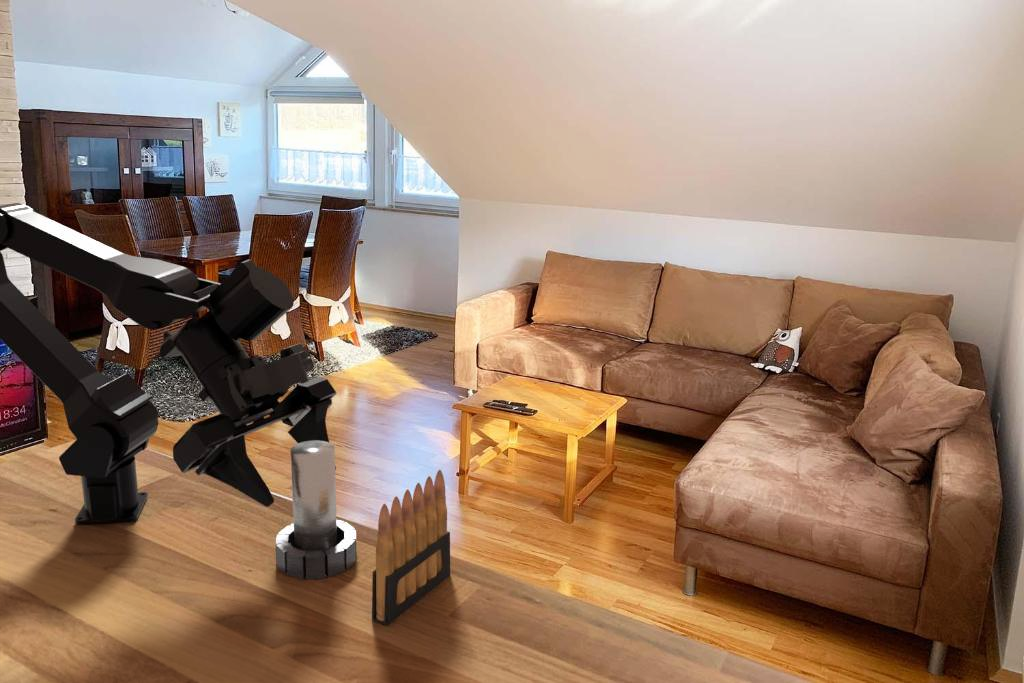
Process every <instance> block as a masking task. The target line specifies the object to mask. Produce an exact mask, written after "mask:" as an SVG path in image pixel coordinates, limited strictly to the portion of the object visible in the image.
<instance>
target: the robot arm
mask: <svg viewBox="0 0 1024 683" xmlns="http://www.w3.org/2000/svg"><path fill="white" fill-rule="evenodd" d="M6 249H7V250H8V249H9V250H12V251H14V252H16V253H18V254H20V255H23V256H25V257H27V258H29V259H31V260H33V261H35V262H37V263H38V264H39V263H40V264H41V265H44V266H46V267H48V268H50V269H53V270H54V271H56V272H59V273H61V274H63V275H64V276H67V277H69V278H72V279H74V280H76V281H78V282H80V283H81V284H84V285H86V286H88V287H91V288H93V289H95V290H97V291H98V292H100V293H101V294H103V295H104V296H106V298H107V299H108V301H109V302H110V303H111V305H112V306H113V308H114V309H115V310H116V311H118V312H119V313H120V314H122V315H123V316H125V317H126V318H128V319H129V320H131V321H133V322H134V323H135V324H137V325H139V326H141V327H142V328H144V329H146V330H147V329H148V330H153V331H154V330H160V329H162V328H165V327H168V326H170V325H172V324H174V323H176V322H178V321H181V320H184V319H185V320H186V319H188V318H189V319H188V320H187V321H186V322H184V324H183V325H182V326H181V327H179V328H178V329H177V330H176V331H175V330H172V331H165V332H163V335H162V336H163V337H162V338H163V339H162V343H161V344H160V347H159V352H158V355H159V357H160V358H162V359H163V358H171V357H180V356H182V358H183V360H184V361H185V363H186V364H187V366H188V367H189V369H190V371H191V372H192V374H193V375H194V377H195V378H196V380H197V381H198V383H199V384H200V386H201V387H202V389H201V390H200V392H198V395H197V396H198V397H199V398H200V400H201V402H202V403H205V402H207V401H211V403H212V404H213V405H214V407H215V408H216V410H217V411H218V413H219V414H216V415H213V416H211V417H208V418H206V419H203V420H200V421H197V422H195V423H193V424H192V425H190V427H189V428H188V429H187V430H186V431H185V432H184V434H182V436H181V437H180V438H179V439H178V440H177V442H176V443H175V444H174V445H173V447H172V458H173V461H174V462H175V464H176V465H177V467H178V469H179V470H180V472H181V473H183V474H185V473H187V472H190V471H192V470H194V469H196V470H194V473H195V474H196V475H197V476H201V475H206V476H209V477H210V478H213V479H215V480H217V481H218V482H221V483H224V484H226V485H228V486H230V487H232V488H233V489H235V490H238V491H239V492H240V493H242V494H244V495H245V496H247V497H249V498H250V499H252V500H254V501H256V502H257V503H258V504H261V505H263V506H264V507H265V508H268V507H270V506H272V505H273V504H274V503H275V498H274V496H273V495H272V492H271V491H270V489H269V487H268V486H267V484H266V482H265V481H264V479H263V478H262V475H261V474H260V473H259V471H258V470H257V468H256V467H255V465H254V463H253V462H252V461H251V459H250V457H249V456H248V453H247V448H246V446H247V445H246V436H247V435H249V434H252V433H253V432H256V431H259V430H262V429H264V428H266V427H269V426H270V425H273V424H276V423H277V422H280V421H281V422H282V424H284V425H287V426H290V427H291V428H290V429H288V431H287V433H288V434H289V436H291V437H292V439H293V440H294V441H295V442H296V444H298V443H301V442H305V441H326V442H329V443H331V442H330V439H329V436H328V430H327V424H326V423H327V422H326V418H327V413H328V409H329V408H330V407H331V406H332V405H333V398H334V397H335V396H336V395H337V391H336V390H335V388H334V386H333V385H332V384H331V382H330V381H329V379H327V378H324V377H321V376H320V377H319V376H317V377H315V378H312V379H310V378H309V377H308V372H311V371H313V370H314V367H315V365H314V362H313V359H312V356H311V354H310V352H309V351H308V350H307V349H306V348H305V347H304V346H303V344H302V343H301V342H299V343H297V344H294V345H290V346H288V347H284V348H282V349H281V350H280V352H279V353H280V358H278V359H276V360H273V361H270V362H268V363H267V362H266V361H265V360H264V358H263V357H262V356H259V354H257V355H253V356H249V354H248V352H247V351H246V349H245V348H244V347H243V345H242V344H241V342H240V341H239V340H244V341H247V342H248V341H250V342H253V341H255V340H257V339H258V338H260V336H262V335H263V334H264V333H265V332H267V330H268V329H270V328H271V327H272V326H273V325H274V324H276V322H277V321H279V320H280V319H281V318H282V317H283V316H284V315H285V314H286V313H288V312H289V311H290V310H291V309H292V308H293V306H294V303H295V302H294V301H295V300H294V296H293V295H292V292H291V290H290V289H289V287H288V286H287V285H286V283H285V282H284V281H283V279H282V278H280V277H277V276H275V274H273V273H272V272H270V271H269V270H266V269H265V268H262V267H260V266H257V265H256V264H255V262H253V260H252V259H246V260H244V261H243V260H242V261H241V262H239V264H237V266H235V267H234V268H233V270H232V271H231V273H230V274H229V275H228V276H227V277H226V278H225V279H224V280H223V281H222V282H221V283H220V282H216V281H213V280H210V279H209V280H208V279H204V278H201V277H198V276H197V274H195V272H193V271H192V270H191V269H189V268H187V267H185V266H182V265H180V264H175V263H171V262H168V261H164V260H161V259H156V258H147V257H141V256H134V255H130V254H127V253H124V252H121V251H119V250H117V249H115V248H113V247H111V246H108V245H106V244H104V243H103V242H100V241H97V240H95V239H93V238H91V237H89V236H87V235H85V234H82V233H80V232H78V231H76V230H75V229H72V228H70V227H68V226H65V225H63V224H61V223H59V222H57V221H55V220H54V219H53V220H52V219H50V218H49V217H46V216H45V215H43V214H39V213H38V212H36V211H35V210H34V209H33V208H31V207H30V206H29V205H26V204H23V203H20V202H15V203H14V202H13V203H7V204H1V205H0V340H1V341H2V343H3V344H4V345H5V346H6V347H7V348H8V349H10V351H11V352H12V353H13V354H14V355H15V356H16V357H17V358H18V359H19V360H20V361H21V362H22V363H23V364H24V365H25V366H26V367H27V368H28V369H29V370H30V371H31V372H32V373H33V374H34V375H35V376H36V377H37V378H38V379H39V380H40V381H41V382H42V383H43V384H44V385H45V386H46V387H47V389H49V390H50V391H51V392H52V393H53V394H54V395H55V396H56V397H57V399H59V401H60V402H61V403H62V406H63V410H64V414H65V418H66V423H67V426H68V429H69V430H70V432H71V433H72V435H73V436H74V437H75V441H73V442H72V443H71V444H70V446H69V447H67V449H66V450H64V452H63V453H62V454H60V456H58V460H59V462H60V464H61V466H62V468H63V471H64V473H65V475H67V476H77V477H81V486H82V488H81V489H82V495H83V496H82V497H83V505H82V507H81V509H80V511H79V512H78V513H77V515H76V516H75V518H74V522H75V524H77V525H84V524H105V523H120V522H121V523H122V522H123V523H125V522H134V521H136V520H138V518H139V516H140V514H141V512H142V510H143V507H144V506H145V504H146V501H147V499H148V496H149V495H148V492H146V491H145V492H143V491H139V488H138V476H137V468H136V467H137V466H136V455H137V454H139V453H140V452H142V451H144V450H146V449H147V448H148V445H149V444H148V443H149V440H150V439H151V438H152V437H154V435H155V434H156V433H157V431H158V428H159V416H160V415H159V411H158V409H157V407H156V406H155V404H154V403H153V402H152V401H151V400H153V399H154V396H153V395H151V394H149V393H148V392H146V391H145V390H143V388H141V386H140V385H139V384H138V382H137V381H136V380H135V378H134V377H133V376H131V375H130V374H129V373H123V374H121V375H120V376H118V377H116V378H113V377H111V376H109V375H106V374H103V373H102V372H100V371H99V370H98V369H97V368H96V367H95V366H94V365H93V364H92V363H91V362H90V361H89V360H88V359H87V358H86V357H85V356H84V355H83V354H82V353H81V352H80V351H79V350H78V348H76V346H74V345H73V344H72V343H71V342H70V340H68V339H67V337H65V335H63V333H61V332H60V330H59V329H58V328H57V327H56V326H55V325H54V324H53V323H52V322H51V321H50V320H49V319H48V318H47V317H46V316H45V315H44V313H42V312H41V311H40V310H39V309H38V307H36V305H34V303H33V302H31V301H30V300H29V299H28V298H27V297H26V296H25V294H23V292H22V291H21V290H20V289H19V288H17V286H16V285H15V284H14V283H13V282H12V281H11V280H10V279H9V277H8V272H7V269H6V268H7V267H6V263H5V259H4V256H3V253H2V251H4V250H6ZM207 309H208V310H207ZM205 310H207V312H205V314H203V315H202V316H201V317H194V315H197V314H199V313H200V312H202V311H205ZM192 316H193V317H192ZM191 317H192V318H191ZM294 385H296V386H295V387H294V388H293V389H292V390H291V391H290V392H289V389H290V388H291V387H292V386H294ZM288 392H289V393H288ZM287 393H288V394H287ZM286 394H287V395H286ZM285 395H286V396H285ZM284 396H285V397H284ZM282 397H284V398H283V399H282V400H281V401H279V399H280V398H282ZM336 466H337V465H335V471H336V470H337V467H336Z"/></svg>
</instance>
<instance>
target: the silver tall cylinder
mask: <svg viewBox="0 0 1024 683" xmlns="http://www.w3.org/2000/svg"><path fill="white" fill-rule="evenodd" d="M329 442H330V441H329ZM329 442H326V441H305V442H301V443H296V444H294V445H292V446H291V448H290V472H291V475H290V476H291V494H292V516H293V517H292V518H293V521H292V522H293V523H294V545H295V548H296V549H300V550H304V551H321V550H326V549H329V548H332V547H334V546H337V520H338V519H337V493H336V492H337V491H336V490H337V486H336V485H337V484H336V470H335V466H336V455H335V453H336V451H335V450H336V449H335V445H334V444H333V443H331V442H330V443H329Z"/></svg>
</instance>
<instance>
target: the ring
mask: <svg viewBox="0 0 1024 683" xmlns="http://www.w3.org/2000/svg"><path fill="white" fill-rule="evenodd" d="M275 560H276V567H277V568H278V569H279V570H280V571H282V573H284V575H287V576H288V577H293V578H297V579H302V580H304V579H306V580H318V579H326V577H327V578H331V577H334V576H336V575H339V574H342V573H344V572H345V571H347V570H349V569H350V568H351V567H352V566H353V565H354V564H355V563H357V562H356V561H357V530H356V528H354V526H352V525H351V524H350V523H348V522H347V521H344V520H339V519H337V546H334V547H332V548H329V549H326V550H321V551H304V550H300V549H296V548H295V545H294V522H293V523H290V525H287V526H285V527H284V528H283V529H281V530H280V531H278V533H277V534H276V538H275Z"/></svg>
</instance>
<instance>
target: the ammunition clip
mask: <svg viewBox="0 0 1024 683" xmlns="http://www.w3.org/2000/svg"><path fill="white" fill-rule="evenodd" d="M434 478H435V479H434V482H433V479H432V477H431V476H430V475H428V476H427V478H426V481H425V483H424V487H422V485H421V483H420V482H417V483H416V485H415V487H414V491H413V495H412V494H411V492H410V490H409V489H406V490H405V492H404V493H403V498H402V502H401V501H400V499H399V497H398V496H394V497H393V500H392V503H391V508H390V510H389V507H388V505H387V504H386V503H383V504H382V506H381V509H380V512H379V516H378V524H377V541H376V544H375V569H374V570H373V571H372V578H371V579H372V583H371V584H372V585H371V586H372V587H371V588H372V590H371V592H372V593H371V602H372V603H371V620H372V621H374V622H377V623H380V624H381V625H384V626H390V625H391V624H393V623H394V621H397V619H399V618H400V617H401V616H402V615H403V614H405V613H406V612H407V611H408V610H409V609H411V608H412V607H413V606H414V605H416V604H417V603H419V601H420V600H422V599H423V598H425V597H426V596H427V595H428V594H429V593H430V592H432V591H433V590H434V589H435V588H437V587H438V586H439V585H441V584H442V583H443V582H444V581H445V580H447V578H450V576H451V532H450V531H448V507H447V500H446V499H447V497H446V483H445V478H444V474H443V471H442V469H438V470H437V472H436V475H435V477H434Z"/></svg>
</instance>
